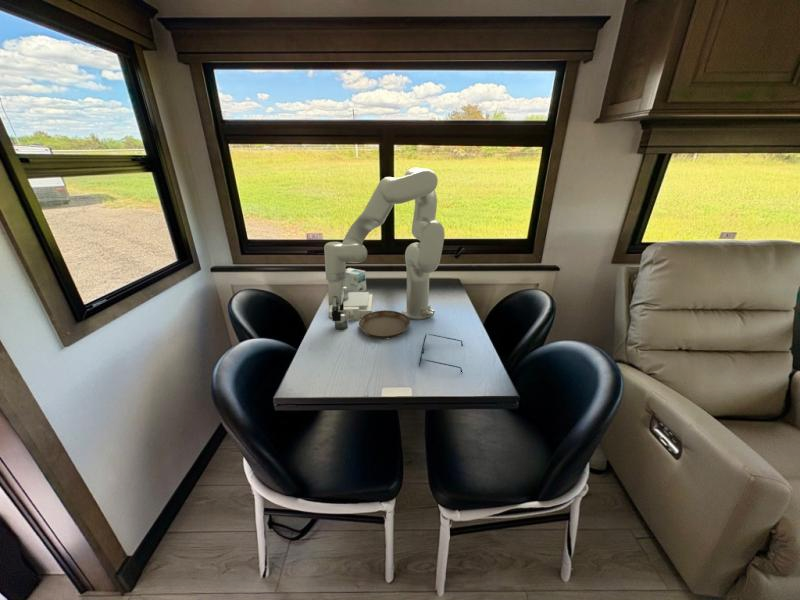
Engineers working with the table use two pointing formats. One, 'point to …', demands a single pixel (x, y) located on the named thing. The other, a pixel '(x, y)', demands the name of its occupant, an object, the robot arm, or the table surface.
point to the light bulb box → (355, 280)
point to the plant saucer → (384, 324)
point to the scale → (356, 305)
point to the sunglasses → (438, 362)
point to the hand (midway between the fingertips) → (338, 315)
